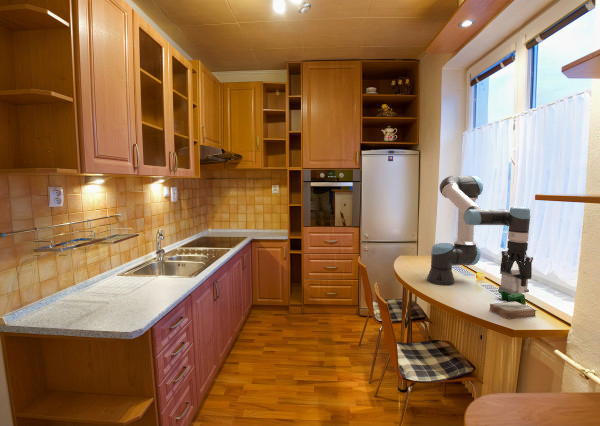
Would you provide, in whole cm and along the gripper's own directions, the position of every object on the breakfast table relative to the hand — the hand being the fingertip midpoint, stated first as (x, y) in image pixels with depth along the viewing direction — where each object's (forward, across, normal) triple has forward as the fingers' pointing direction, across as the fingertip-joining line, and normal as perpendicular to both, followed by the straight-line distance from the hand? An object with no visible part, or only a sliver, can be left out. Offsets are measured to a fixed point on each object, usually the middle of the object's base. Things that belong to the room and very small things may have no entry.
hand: (513, 290), depth 138 cm
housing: (0, 0, 0) cm, 0 cm away
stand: (+11, 0, 0) cm, 11 cm away
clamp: (+11, -11, +12) cm, 20 cm away
